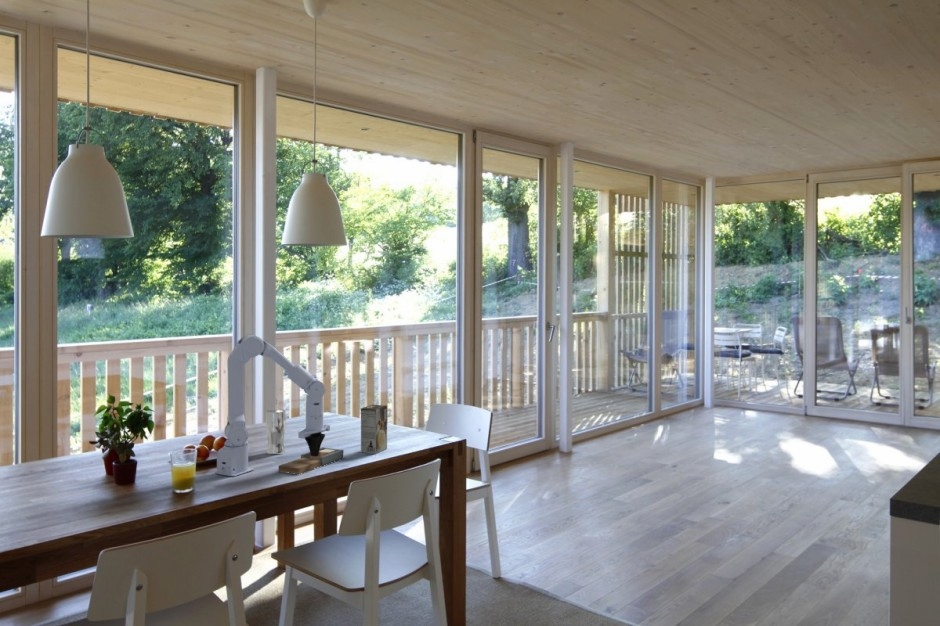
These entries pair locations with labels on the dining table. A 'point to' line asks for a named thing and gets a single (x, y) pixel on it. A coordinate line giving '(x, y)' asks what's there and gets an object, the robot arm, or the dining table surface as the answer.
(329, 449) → the tile cream
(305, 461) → the board
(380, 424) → the coffee box
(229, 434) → the robot arm
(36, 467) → the dining table surface
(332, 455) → the tray
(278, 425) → the beer glass
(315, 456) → the tile terracotta
